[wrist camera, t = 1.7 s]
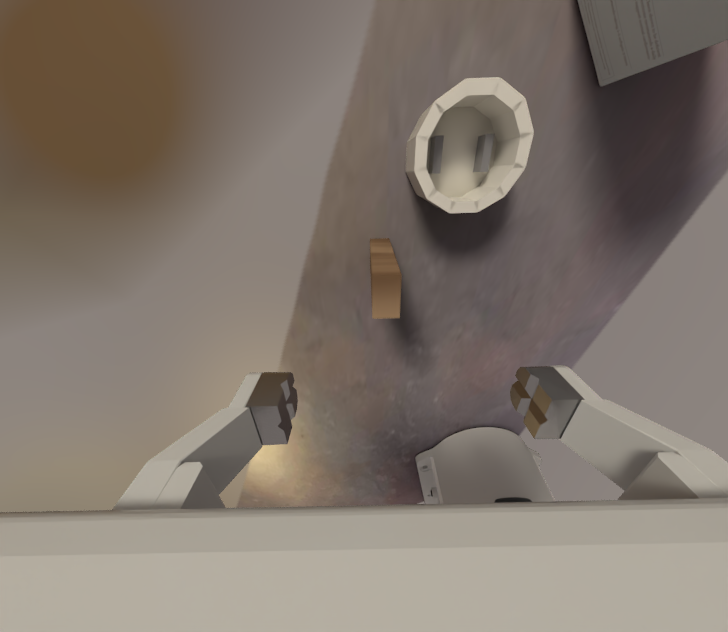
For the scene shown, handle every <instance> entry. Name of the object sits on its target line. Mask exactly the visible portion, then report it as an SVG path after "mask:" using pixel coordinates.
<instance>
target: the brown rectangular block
mask: <svg viewBox="0 0 728 632" xmlns="http://www.w3.org/2000/svg"><path fill="white" fill-rule="evenodd" d="M370 271H371V294H372V317H373V319H376V318H400V298H401V272H400V269H399V266H398V263H397V260H396V258H395V255H394V252H393V249H392V246H391V243H390V240H389V238H388V239H370Z"/></svg>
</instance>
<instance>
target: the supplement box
mask: <svg viewBox="0 0 728 632" xmlns="http://www.w3.org/2000/svg"><path fill="white" fill-rule="evenodd" d="M578 4H579V8H580V12H581V15H582V19H583V23H584V27H585V31H586V35H587V38H588V42H589V46H590V50H591V54H592V58H593V61H594V65H595V69H596V73H597V77H598V81H599V85H600V87H602V86H604V85H607V84H610V83H613V82H615V81H618V80H621V79H623V78H626V77H629V76H631V75H634V74H637V73H639V72H642V71H645V70H648V69H650V68H653V67H656V66H658V65H661V64H664V63H666V62H669V61H672V60H674V59H677V58H680V57H683V56H685V55H688V54H691V53H693V52H696V51H699V50H701V49H704V48H707V47H710V46H712V45H715V44H718V43H720V42H723V41H726V40H728V0H578Z"/></svg>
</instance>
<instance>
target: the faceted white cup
mask: <svg viewBox="0 0 728 632" xmlns="http://www.w3.org/2000/svg"><path fill="white" fill-rule="evenodd" d="M533 134H534V130H533V126H532V122H531V118H530V114H529V110H528V106H527V103H526V99H525V97H524V96H522V95H521V94H520V93H519V92H518V91H516V90H515V89H514V88H513V87H511V86H510V85H509V84H508V83H507V82H505V81H504V80H503V79H502V78H500V77H493V78H468V79H465V80H463V81H462V82H460V83H459V84H458V85H456V86H455V87H454V88H452V89H451V90H449V91H448V92H447V93H445V94H444V95H443V96H441V97H440V98H438V99H437V100H436V101H434V102H433V103H432V105H431V106H430V107H429V108H428V109H427V110H426V111H425V112H424V113H423V114H422V115H421V117H420V118H419V120H418V122H417V124H416V126H415V128H414V130H413V132H412V134H411V136H410V138H409V140H408V142H407V151H406V174H407V176H408V178H409V180H410V182H411V184H412V186H413V188H414V191H415V193H416V194H417V195H418V196H420V197H421V198H423V199H424V200H426V201H428V202H429V203H431V204H432V205H434V206H436V207H438V208H440V209H442V210H444V211H446V212H448V213H477V212H479V211H481V210H483V209H484V208H486V207H488V206H489V205H491V204H493V203H495V202H496V201H498V200H500V199H501V198H503V197H504V196H505V195H506V194H507V193H508V191H509V190H510V189H511V187H512V186H513V184H514V183H515V182H516V180H517V179H518V178H519V176H520V175H521V174H522V172H523V171H524V169H525V168H526V164H527V160H528V155H529V151H530V147H531V142H532V138H533Z"/></svg>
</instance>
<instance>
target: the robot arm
mask: <svg viewBox="0 0 728 632" xmlns="http://www.w3.org/2000/svg"><path fill="white" fill-rule="evenodd" d="M515 376H516V378H517V379H518V380H517V381H516V382H515V383H514V384H513V385H512V387H511V391H510V396H511V401H512V404H513V406H514V408H515V410H516V411H517V412H518V413H520V414H521V415H523V416H524V421H523V422H524V424H525V425H526V427H527V428H528V430H529V431H530V433H531V435H532V436H533V438H534V439H560V441H562V442H563V443H564V444H565V445H567V446H568V447H569V448H571V449H572V450H573V451H574V452H576V453H577V454H578V455H580V456H581V457H582V458H583V459H585V460H586V461H587V462H589V463H590V464H591V465H592V466H594V467H595V468H597V469H598V470H599V471H600V472H601V473H603V474H604V475H605V476H607V477H608V478H609V479H610V480H612V481H613V482H614V483H616V484H617V485H618V486H619V487H621V488H622V489H623V490H625V491H624V493H623V494H622V495H621V496H620V497H619V498H618V500H602V501H555V500H554V497H553V495H552V493H551V491H550V489H549V487H548V485H547V483H546V481H545V479H544V477H543V475H542V473H541V471H540V469H539V466H540V464H541V463H542V459H541V457H540V456H539V453H537V452H536V451H534V450H532V449H530V448H528V447H527V446H526V445H525V443H524V441H523V440H522V439H521V438H520V437H519V436H518V435H516V434H515V433H513V432H511V431H508V430H505V429H501V428H494V427H480V428H473V429H468V430H464V431H461V432H458V433H455V434H453V435H451V436H449V437H447V438H446V439H444V440H443V441H441V442H440V443H439V444H438V445H437V446H435V447H434V448H432V449H430V450H427V451H425V452H422V453H420V454H418V455H417V456H416V458H415V460H416V465H417V470H418V474H419V479H420V484H421V488H422V493H423V498H424V502H425V504H406V505H357V506H306V507H255V508H225V505H224V504H223V502H222V500H221V499H220V497H219V494H220V493H221V492H222V491H223V490H224V489H225V488H226V486H227V485H228V484H229V483H230V482H231V481H232V480H233V479H234V478H235V476H236V475H237V474H238V473H239V472H240V471H241V470H242V469H243V468H244V466H245V465H246V464H247V463H248V462H249V461H250V460H251V459H252V458H253V457H254V455H255V454H256V453H257V452H258V451H259V450H260V449H261V448H262V445H276V444H287V443H288V440H289V436H290V433H291V429H292V424H291V419H292V418H293V417H295V414H296V410H297V402H298V400H297V391H296V389H295V388H294V387H293V383H294V377H293V374H292V373H291V372H264V373H249V374H247V375H246V377H245V379H244V380H243V382H242V384H241V386H240V387H239V389H238V391H237V393H236V394H235V396H234V398H233V400H232V402H231V404H230V405H229V407H228V408H223V409H222V410H220V411H219V412H217V413H216V414H215V415H213V416H212V417H210V418H209V419H207V420H206V421H205V422H203V423H202V424H200V425H199V426H197V427H196V428H195V429H193V430H192V431H190V432H189V433H187V434H186V435H185V436H183V437H182V438H180V439H179V440H177V441H176V442H175V443H173V444H172V445H170V446H169V447H168V448H166V449H165V450H163V451H162V452H160V453H159V454H158V455H156V456H155V457H153V458H152V459H151V460H149V461H148V462H147V463H146V464H145V466H144V467H143V468H142V470H141V471H140V473H139V474H138V475H137V477H136V478H135V479H134V481H133V482H132V483H131V485H130V486H129V487H128V489H127V490H126V491H125V493H124V494H123V496H122V497H121V498H120V500H119V501H118V502H117V504H116V505H115V506H114V508H113V509H112V510H99V511H53V512H52V511H46V512H0V632H728V463H727V462H726V461H725V460H723V459H722V458H721V457H720V456H718V455H717V454H716V453H715V452H713V451H712V450H710V449H708V448H706V447H704V446H702V445H700V444H698V443H696V442H694V441H691V440H690V439H688V438H686V437H683V436H681V435H679V434H677V433H675V432H673V431H671V430H669V429H667V428H665V427H663V426H661V425H659V424H656V423H655V422H652V421H650V420H648V419H646V418H644V417H642V416H640V415H638V414H636V413H634V412H632V411H630V410H628V409H626V408H624V407H621V406H619V405H617V404H615V403H613V402H611V401H609V400H602V399H601V398H600V397H599V396H598V395H597V394H596V393H595V392H594V391H593V390H592V389H591V388H589V386H588V385H587V384H586V383H584V382H583V381H582V380H581V379H580V378H579V377H578V376H577V375H576V374H575V373H574V372H573V371H572V370H571V369H570V368H569V367H566V366H564V365H560V366H539V367H520V368H519V369H518V370H517V372H516V375H515Z"/></svg>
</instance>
